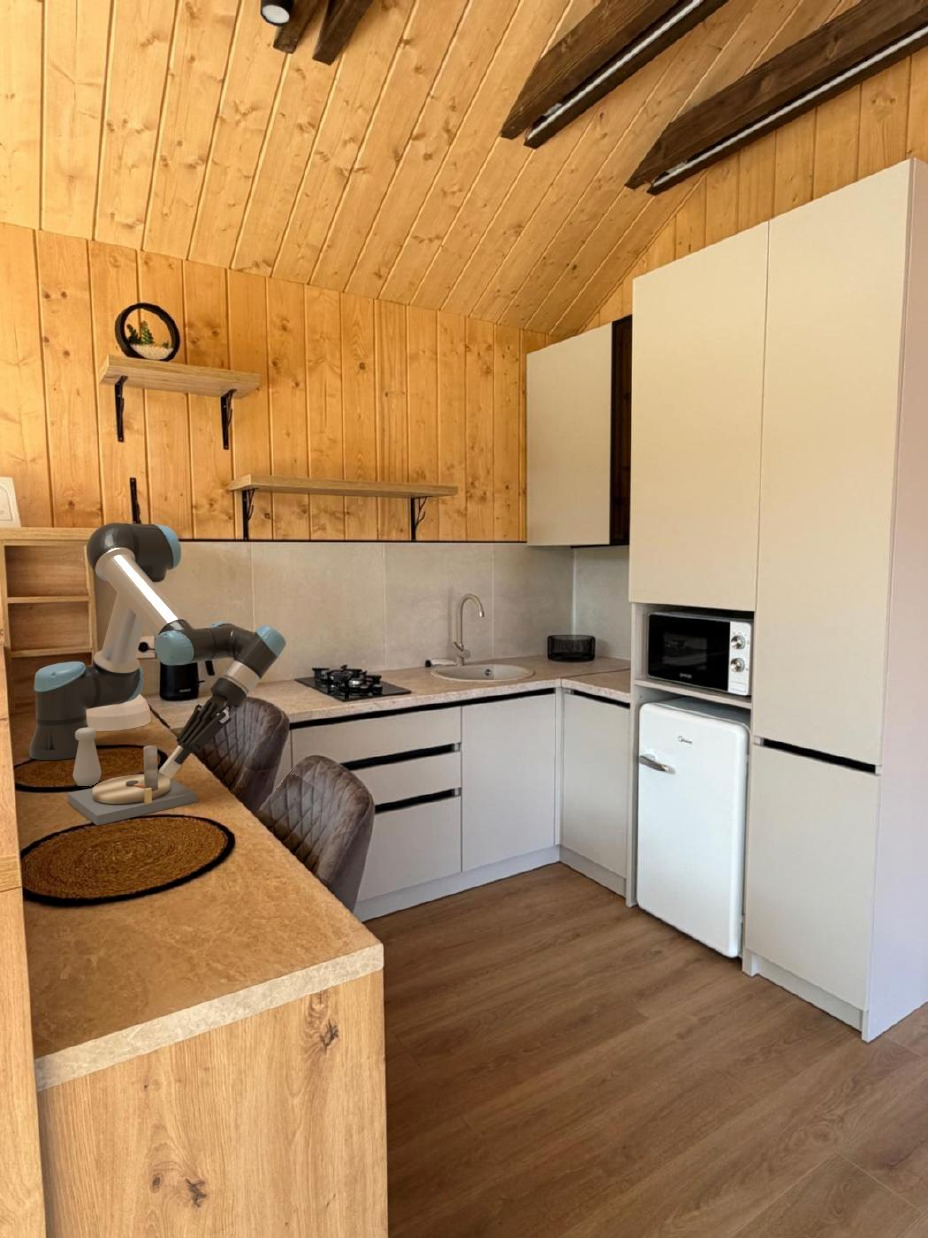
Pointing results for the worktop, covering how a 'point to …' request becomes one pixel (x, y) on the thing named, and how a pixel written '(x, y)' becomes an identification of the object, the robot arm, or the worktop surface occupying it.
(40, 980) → the worktop surface
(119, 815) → the stand base
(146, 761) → the dial
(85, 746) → the salt shaker
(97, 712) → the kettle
